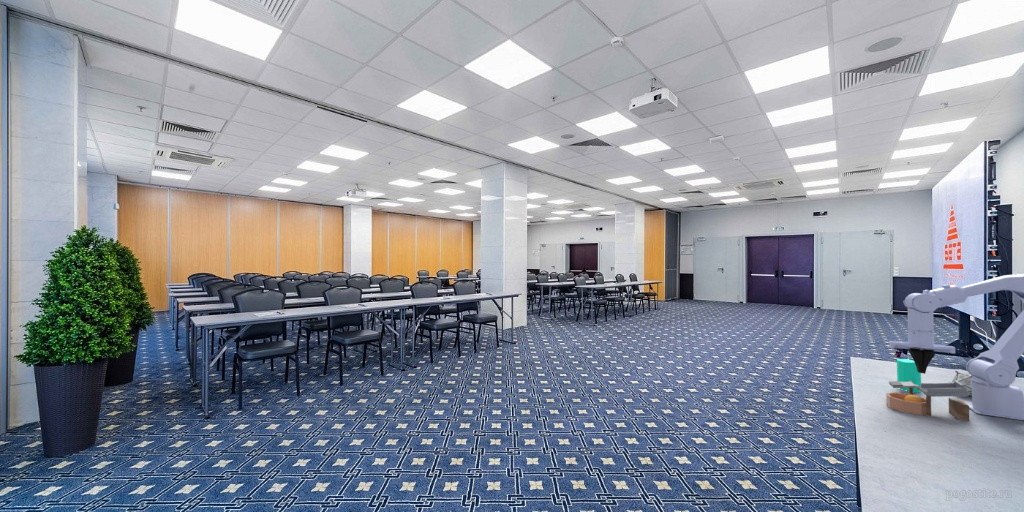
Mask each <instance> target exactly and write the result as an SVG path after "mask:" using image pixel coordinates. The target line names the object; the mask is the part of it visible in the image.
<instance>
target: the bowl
mask: <svg viewBox="0 0 1024 512" xmlns="http://www.w3.org/2000/svg"><path fill="white" fill-rule="evenodd" d="M907 395H911V394H909V393H902V392H886V396H885V397H886V405H887V406H888V408H890V409H892V410H896V411H898V412H902V413H905V414H913V415H919V416H925V415H926V416H927V413H926V397H921V396H919V395H916V396H917V397H919V398H920V399H921V400H922V402H921V403H918V402H911V401H904V398H905V397H906V396H907Z"/></svg>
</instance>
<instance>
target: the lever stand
mask: <svg viewBox="0 0 1024 512" xmlns="http://www.w3.org/2000/svg"><path fill="white" fill-rule="evenodd" d="M909 382H912V381H909ZM912 383H913V382H912ZM908 394H911V395H914V392H913V388H909V391H908ZM925 398H926V413H927V414H926V416H927V417H930V418H931V417H932V397H931V396H928V395H925ZM969 405H970V404H969ZM969 405H968V403H966V402H965V401H963V400H962V399H959V398H955V397H954V398H953V397H948V413H949V414H951V415H952V416H953V417H954V418H956V419H957V420H961V421H970V408H969Z"/></svg>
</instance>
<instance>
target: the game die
mask: <svg viewBox="0 0 1024 512" xmlns="http://www.w3.org/2000/svg"><path fill="white" fill-rule="evenodd" d="M955 373H956V374H955V376H954V378H953V380H952V381H951V382H948V383H954V380H957V381H958V382H960V383H962V384H963V385H964V387H965V388H966V391H967V393H968V396H972V375H971V374H970V373H967V372H966V373H963V372H959V371H957V370H955Z"/></svg>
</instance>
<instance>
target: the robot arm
mask: <svg viewBox="0 0 1024 512" xmlns="http://www.w3.org/2000/svg"><path fill="white" fill-rule="evenodd" d="M999 291H1010V292H1011V293H1013V294H1014V295H1015V296H1016V297H1018V298H1019V299H1020V300H1021V302H1022V303H1023V304H1024V272H1017V273H1013V274H1006V275H1005V274H1004V275H1001V276H997V277H993V278H990V279H986V280H983V281H978V282H976V283H972V284H967V285H964V286H958V285H957V284H956V285H955V284H951V285H950V284H942V285H941V287H939V288H935V289H930V290H929V289H925V290H924V289H923V290H922V293H919V292H914V293H910V294H908V295H907V296H905V299H904V300H903V301H902V302H903V305H904V306H905V307H906V308H907V341H892V340H888V346H889V348H891V349H905V350H907V351H908V353H909V355H910V357H911V358H912V359H913V360H912V361H914V362H915V365H916V368H917V372H919V373H921V374H926V371H927V369H928V366H929V365H930V363H931V361H932V360H933V358H935V355H936V352H940V353H950V354H956V347H955V346H952V345H943V344H935V332H934V329H935V328H934V326H935V325H934V324H935V323H934V322H935V321H934V319H935V318H934V312H935V311H936V310H937V309H938V308H939V309H940V308H944V307H948V306H953V305H956V304H961V303H962V304H963V303H965V302H966V300H968V298H969V297H975V296H979V295H983V294H984V295H985V294H989V293H990V294H991V293H993V292H999ZM1022 354H1024V309H1023V310H1022V311H1021V313H1019V315H1018V316H1017V317H1016V318H1015V320H1014V321H1013V322H1012V323H1011V324H1010V326H1009V327H1008V328H1007V329H1006V330H1005V332H1003V334H1002V335H1001V336H1000V338H998V340H996V342H995V343H994V344H993V346H992V347H991V348H990V349H989V350H985V351H983V352H981V353H979V354H978V356H976V357H974V358H972V359H970V360H968V361H967V363H966V365H965V368H966V371H967V372H968V374H971V375H972V395H971V396H972V397H971V400H972V403H971V404H968V403H967V404H968V405H969V410H972V411H973V412H974V413H976V414H977V415H984V416H991V417H998V418H1005V419H1006V418H1007V419H1012V420H1019V421H1024V393H1023V389H1021V387H1018V386H1014V385H1012V384H1013V383H1014V382H1015V381H1016V375H1017V372H1018V371H1019V370H1020V367H1019V363H1018V360H1019V359H1020V358H1021V356H1022Z"/></svg>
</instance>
